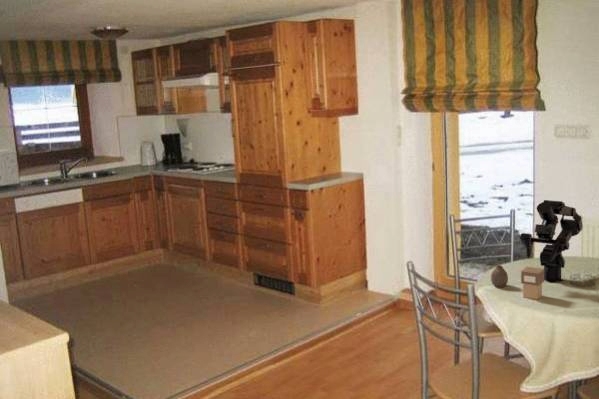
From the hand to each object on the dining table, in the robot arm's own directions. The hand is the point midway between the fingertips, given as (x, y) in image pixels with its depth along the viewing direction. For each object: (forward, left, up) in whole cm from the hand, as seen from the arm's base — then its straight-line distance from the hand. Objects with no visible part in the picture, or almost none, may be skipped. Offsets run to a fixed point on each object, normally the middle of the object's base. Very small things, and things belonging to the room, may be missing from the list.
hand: (539, 258), depth 259 cm
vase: (+12, -11, -14) cm, 21 cm away
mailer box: (+6, +5, -14) cm, 16 cm away
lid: (+6, +5, -8) cm, 11 cm away
